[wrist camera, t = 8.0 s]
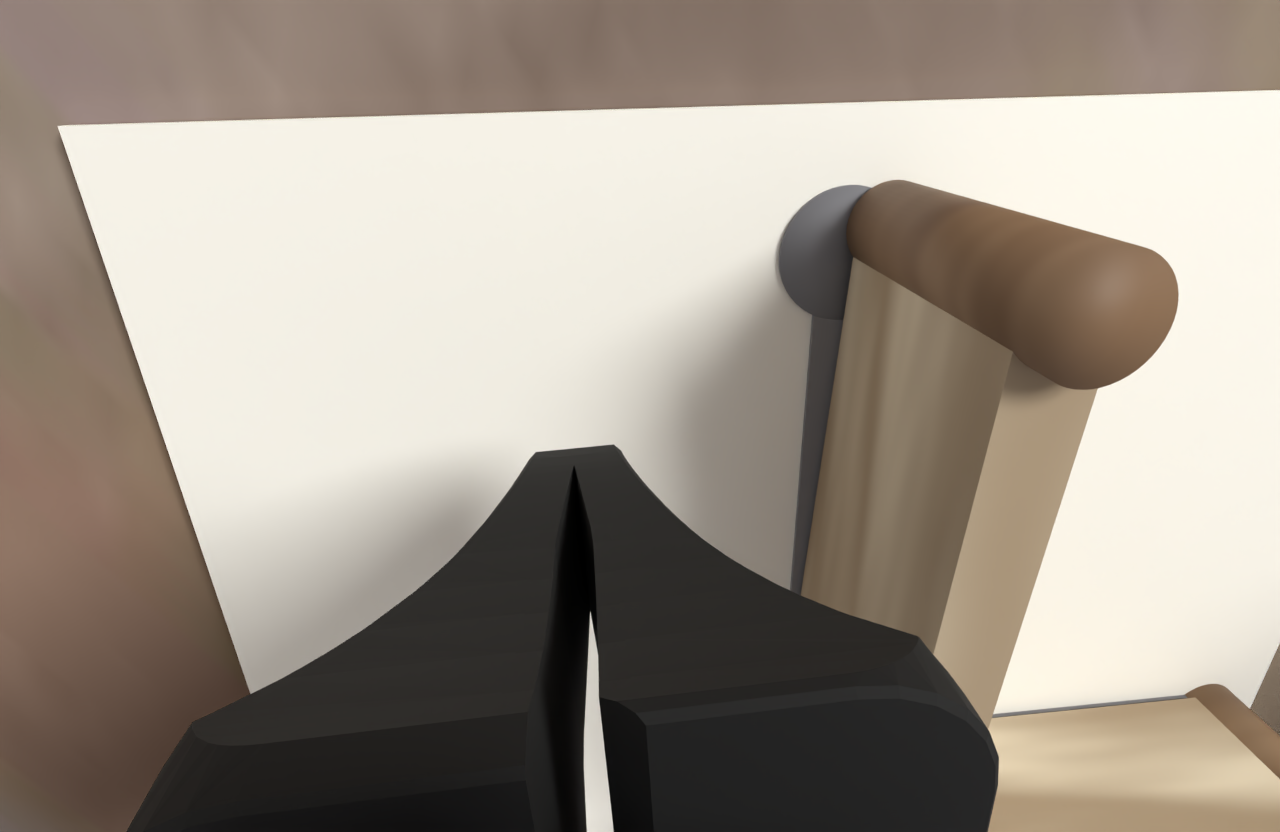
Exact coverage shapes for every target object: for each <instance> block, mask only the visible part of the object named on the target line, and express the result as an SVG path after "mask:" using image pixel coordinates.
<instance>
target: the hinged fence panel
mask: <svg viewBox="0 0 1280 832" xmlns="http://www.w3.org/2000/svg"><path fill="white" fill-rule="evenodd" d="M846 237H847V244H848V247H849V250H850V252H851V254H852V256H853V261H852V268H851V274H850V281H849V287H848V294H847V300H846V306H845V313H844V319H843V326H842V332H841V339H840V345H839V351H838V358H837V364H836V371H835V377H834V384H833V390H832V396H831V403H830V409H829V416H828V422H827V428H826V435H825V441H824V448H823V454H822V461H821V467H820V473H819V480H818V486H817V493H816V499H815V506H814V512H813V518H812V525H811V531H810V538H809V544H808V551H807V557H806V563H805V570H804V576H803V583H802V589H801V596H803V597H806V598H808V599H811V600H813V601H816V602H818V603H820V604H823V605H825V606H828V607H830V608H833V609H835V610H838V611H840V612H843V613H846V614H849V615H852V616H855V617H858V618H861V619H865V620H868V621H871V622H874V623H877V624H881V625H884V626H887V627H890V628H893V629H897V630H900V631H903V632H906V633H909V634H913V635H916V636H918V637H919V638H920V639H921V640H922V641H923V642H924V644H925V645H926V646H927V648H928V649H929V650H930V651H931V653H932V654H933V655H934V656H935V657H936V658H937V660H938V661H939V662H940V663H941V664H942V665H943V666H944V668H945V669H946V670H947V671H948V672H949V674H950V675H951V676H952V678H953V679H954V680H955V682H956V683H957V684H958V686H959V687H960V688H961V690H962V691H963V692H964V694H965V695H966V697H967V698H968V700H969V701H970V703H971V704H972V706H973V707H974V709H975V710H976V712H977V713H978V715H979V716H980V718H981V719H982V721H983V722H984V724H985V725H986V727H987V728H989V725H990V722H991V719H992V716H993V713H994V710H995V706H996V703H997V700H998V697H999V694H1000V691H1001V688H1002V685H1003V682H1004V678H1005V675H1006V672H1007V669H1008V666H1009V663H1010V660H1011V657H1012V654H1013V650H1014V647H1015V644H1016V641H1017V638H1018V635H1019V632H1020V629H1021V626H1022V623H1023V619H1024V616H1025V613H1026V610H1027V607H1028V604H1029V601H1030V598H1031V595H1032V591H1033V588H1034V585H1035V582H1036V579H1037V576H1038V573H1039V570H1040V567H1041V564H1042V560H1043V557H1044V554H1045V551H1046V548H1047V545H1048V542H1049V539H1050V536H1051V532H1052V529H1053V526H1054V523H1055V520H1056V517H1057V514H1058V511H1059V508H1060V505H1061V501H1062V498H1063V495H1064V492H1065V489H1066V486H1067V483H1068V480H1069V477H1070V473H1071V470H1072V467H1073V464H1074V461H1075V458H1076V455H1077V452H1078V449H1079V445H1080V442H1081V439H1082V436H1083V433H1084V430H1085V427H1086V424H1087V421H1088V418H1089V414H1090V411H1091V408H1092V405H1093V402H1094V399H1095V396H1096V393H1097V390H1098V388H1102V387H1105V386H1108V385H1111V384H1113V383H1116V382H1118V381H1120V380H1122V379H1124V378H1126V377H1127V376H1129V375H1130V374H1132V373H1133V372H1135V371H1136V370H1138V369H1139V368H1140V367H1141V366H1142V365H1144V364H1145V363H1146V362H1147V361H1148V360H1149V359H1150V358H1151V357H1152V356H1153V355H1154V353H1155V352H1156V351H1157V350H1158V349H1159V347H1160V346H1161V344H1162V343H1163V342H1164V340H1165V338H1166V337H1167V335H1168V333H1169V331H1170V329H1171V327H1172V324H1173V322H1174V319H1175V316H1176V312H1177V307H1178V296H1179V292H1178V283H1177V280H1176V276H1175V274H1174V272H1173V269H1172V268H1171V266H1170V265H1169V263H1168V262H1167V261H1166V260H1165V259H1164V258H1163V257H1162V256H1161V255H1159V254H1158V253H1156V252H1155V251H1153V250H1151V249H1148V248H1146V247H1142V246H1139V245H1135V244H1131V243H1128V242H1124V241H1121V240H1117V239H1114V238H1110V237H1106V236H1103V235H1099V234H1096V233H1092V232H1089V231H1085V230H1081V229H1078V228H1074V227H1071V226H1067V225H1064V224H1060V223H1056V222H1053V221H1049V220H1046V219H1042V218H1039V217H1035V216H1031V215H1028V214H1024V213H1021V212H1017V211H1014V210H1010V209H1006V208H1003V207H999V206H996V205H992V204H989V203H985V202H981V201H978V200H974V199H971V198H967V197H964V196H960V195H956V194H953V193H949V192H946V191H942V190H939V189H935V188H931V187H928V186H924V185H921V184H917V183H914V182H910V181H906V180H890V181H886V182H883V183H880V184H878V185H876V186H874V187H873V188H871V189H870V190H868V191H867V192H866V193H865V194H864V195H863V196H862V197H861V198H860V199H859V200H858V202H857V203H856V205H855V206H854V208H853V210H852V212H851V214H850V217H849V219H848V224H847V231H846Z"/></svg>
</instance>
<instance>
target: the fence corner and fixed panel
mask: <svg viewBox="0 0 1280 832" xmlns="http://www.w3.org/2000/svg"><path fill="white" fill-rule="evenodd" d="M1185 696H1186V697H1187V698H1185V699H1175V700H1165V701H1156V702H1146V703H1136V704H1126V705H1116V706H1106V707H1096V708H1086V709H1077V710H1067V711H1057V712H1047V713H1037V714H1027V715H1017V716H1007V717H998V718H992V719H991V722H990V725H989V728H988V730H989V732H990V734H991V737H992V740H993V742H994V745H995V748H996V750H997V753H998V756H999V774H998V788H997V792H996V797H995V801H994V806H993V810H992V815H991V819H990V824H989V828H988V832H1280V736H1279V735H1278V734H1277V733H1276V732H1275V731H1274V730H1273V729H1272V728H1270V727H1269V726H1268V725H1267V724H1266V723H1265V722H1264V721H1263V720H1262V719H1261V718H1259V717H1258V716H1257V715H1256V714H1255V713H1254V712H1253V711H1252V710H1251V709H1250V708H1248V707H1247V706H1246V705H1245V704H1244V703H1243V702H1242V701H1241V700H1240V699H1239V698H1237V697H1236V696H1235V695H1234V694H1233V693H1232V692H1231V691H1230V690H1229V689H1227V688H1226V687H1225V686H1223V685H1220V684H1207V685H1203V686H1200V687H1197V688H1195V689H1193V690H1191V691H1189V692H1188V693H1186V694H1185Z"/></svg>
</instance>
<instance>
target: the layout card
mask: <svg viewBox="0 0 1280 832" xmlns="http://www.w3.org/2000/svg"><path fill="white" fill-rule="evenodd" d="M58 129H59V132H60V134H61V137H62V140H63V143H64V146H65V149H66V152H67V155H68V158H69V161H70V164H71V167H72V170H73V173H74V176H75V179H76V182H77V185H78V187H79V190H80V193H81V196H82V199H83V202H84V205H85V208H86V211H87V214H88V217H89V220H90V223H91V226H92V229H93V232H94V235H95V238H96V241H97V243H98V246H99V249H100V252H101V255H102V258H103V261H104V264H105V267H106V270H107V273H108V276H109V279H110V282H111V285H112V288H113V291H114V294H115V296H116V299H117V302H118V305H119V308H120V311H121V314H122V317H123V320H124V323H125V326H126V329H127V332H128V335H129V338H130V341H131V344H132V347H133V350H134V352H135V355H136V358H137V361H138V364H139V367H140V370H141V373H142V376H143V379H144V382H145V385H146V388H147V391H148V394H149V397H150V400H151V403H152V405H153V408H154V411H155V414H156V417H157V420H158V423H159V426H160V429H161V432H162V435H163V438H164V441H165V444H166V447H167V450H168V453H169V456H170V459H171V461H172V464H173V467H174V470H175V473H176V476H177V479H178V482H179V485H180V488H181V491H182V494H183V497H184V500H185V503H186V506H187V509H188V512H189V514H190V517H191V520H192V523H193V526H194V529H195V532H196V535H197V538H198V541H199V544H200V547H201V550H202V553H203V556H204V559H205V562H206V565H207V567H208V570H209V573H210V576H211V579H212V582H213V585H214V588H215V591H216V594H217V597H218V600H219V603H220V606H221V609H222V612H223V615H224V618H225V621H226V623H227V626H228V629H229V632H230V635H231V638H232V641H233V644H234V647H235V650H236V653H237V656H238V659H239V662H240V665H241V668H242V671H243V674H244V676H245V679H246V682H247V685H248V688H249V691H250V694H252V693H254V692H256V691H258V690H260V689H262V688H264V687H266V686H268V685H270V684H272V683H274V682H276V681H278V680H280V679H282V678H283V677H285V676H287V675H289V674H291V673H292V672H294V671H296V670H298V669H300V668H301V667H303V666H305V665H307V664H308V663H310V662H312V661H313V660H315V659H317V658H318V657H320V656H322V655H324V654H325V653H327V652H329V651H330V650H332V649H334V648H335V647H337V646H338V645H340V644H341V643H343V642H345V641H346V640H348V639H349V638H351V637H352V636H354V635H356V634H357V633H359V632H360V631H362V630H363V629H365V628H366V627H368V626H369V625H370V624H372V623H373V622H374V621H376V620H377V619H378V618H380V617H381V616H382V615H384V614H385V613H386V612H388V611H389V610H390V609H392V608H393V607H394V606H396V605H397V604H399V603H400V602H401V601H403V600H404V599H405V598H407V597H408V596H409V595H411V594H412V593H413V592H415V591H416V590H417V589H418V588H419V587H421V586H422V585H423V584H424V583H425V582H426V581H428V580H429V579H430V578H431V577H432V576H433V575H434V574H435V573H437V572H438V571H439V570H440V569H441V568H442V567H443V566H444V565H445V564H447V563H448V562H449V561H450V560H451V559H452V558H453V557H454V556H455V555H456V554H457V553H458V552H459V550H460V549H461V548H462V547H463V546H464V545H465V544H466V543H467V541H468V540H469V539H470V538H471V537H472V536H473V535H474V533H475V532H476V531H477V530H478V529H479V528H480V527H481V526H482V524H483V523H484V522H485V521H486V520H487V518H488V517H489V516H490V514H491V513H492V512H493V511H494V509H495V508H496V507H497V505H498V504H499V503H500V501H501V500H502V499H503V497H504V496H505V495H506V493H507V492H508V491H509V489H510V488H511V486H512V485H513V483H514V482H515V480H516V479H517V478H518V476H519V475H520V473H521V471H522V470H523V468H524V467H525V465H526V464H527V462H528V460H529V459H530V458H531V457H532V456H533V455H534V453H535V452H541V451H551V450H562V449H572V448H582V447H593V446H603V445H613V444H614V445H615V446H616V447H618V448H619V449H620V450H621V451H622V453H623V455H624V456H625V458H626V460H627V461H628V463H629V464H630V465H631V467H632V468H633V469H634V471H635V472H636V473H637V474H638V476H639V477H640V478H641V479H642V481H643V482H644V483H645V484H646V485H647V486H648V488H649V489H650V490H651V491H652V492H653V493H654V494H655V495H656V496H657V497H658V498H659V499H660V500H661V501H662V502H663V504H664V505H665V506H666V507H667V508H668V509H669V510H671V511H672V512H673V513H674V514H675V515H676V516H677V517H678V518H679V519H680V520H681V521H682V522H683V523H685V524H686V525H687V526H688V527H689V528H690V529H691V530H692V531H694V532H695V533H696V534H697V535H699V536H700V537H701V538H702V539H703V540H705V541H706V542H708V543H709V544H710V545H712V546H713V547H715V548H716V549H718V550H719V551H721V552H722V553H723V554H725V555H726V556H728V557H729V558H731V559H733V560H734V561H736V562H738V563H739V564H741V565H742V566H744V567H746V568H748V569H750V570H751V571H753V572H755V573H757V574H759V575H761V576H762V577H764V578H766V579H768V580H770V581H772V582H774V583H775V584H777V585H780V586H782V587H784V588H786V589H788V590H790V591H792V592H794V593H797V594H799V595H801V589H802V583H803V576H804V570H805V563H806V557H807V551H808V544H809V538H810V531H811V525H812V518H813V512H814V506H815V499H816V493H817V486H818V480H819V473H820V467H821V461H822V454H823V448H824V441H825V435H826V428H827V422H828V416H829V409H830V403H831V396H832V390H833V384H834V377H835V371H836V364H837V358H838V351H839V345H840V339H841V332H842V326H843V319H844V313H845V306H846V300H847V294H848V287H849V281H850V274H851V268H852V261H853V256H852V254H851V252H850V250H849V247H848V244H847V237H846V231H847V224H848V219H849V217H850V214H851V212H852V210H853V208H854V206H855V205H856V203H857V202H858V200H859V199H860V198H861V197H862V196H863V195H864V194H865V193H866V192H867V191H868V190H870V189H871V188H873V187H874V186H876V185H878V184H880V183H883V182H886V181H890V180H906V181H910V182H914V183H917V184H921V185H924V186H928V187H931V188H935V189H939V190H942V191H946V192H949V193H953V194H956V195H960V196H964V197H967V198H971V199H974V200H978V201H981V202H985V203H989V204H992V205H996V206H999V207H1003V208H1006V209H1010V210H1014V211H1017V212H1021V213H1024V214H1028V215H1031V216H1035V217H1039V218H1042V219H1046V220H1049V221H1053V222H1056V223H1060V224H1064V225H1067V226H1071V227H1074V228H1078V229H1081V230H1085V231H1089V232H1092V233H1096V234H1099V235H1103V236H1106V237H1110V238H1114V239H1117V240H1121V241H1124V242H1128V243H1131V244H1135V245H1139V246H1142V247H1146V248H1148V249H1151V250H1153V251H1155V252H1156V253H1158V254H1159V255H1161V256H1162V257H1163V258H1164V259H1165V260H1166V261H1167V262H1168V263H1169V265H1170V266H1171V268H1172V269H1173V272H1174V274H1175V276H1176V280H1177V283H1178V292H1179V296H1178V307H1177V312H1176V316H1175V319H1174V322H1173V324H1172V327H1171V329H1170V331H1169V333H1168V335H1167V337H1166V338H1165V340H1164V342H1163V343H1162V344H1161V346H1160V347H1159V349H1158V350H1157V351H1156V352H1155V353H1154V355H1153V356H1152V357H1151V358H1150V359H1149V360H1148V361H1147V362H1146V363H1145V364H1144V365H1142V366H1141V367H1140V368H1139V369H1138V370H1136V371H1135V372H1133V373H1132V374H1130V375H1129V376H1127V377H1126V378H1124V379H1122V380H1120V381H1118V382H1116V383H1113V384H1111V385H1108V386H1105V387H1102V388H1098V390H1097V393H1096V396H1095V399H1094V402H1093V405H1092V408H1091V411H1090V414H1089V418H1088V421H1087V424H1086V427H1085V430H1084V433H1083V436H1082V439H1081V442H1080V445H1079V449H1078V452H1077V455H1076V458H1075V461H1074V464H1073V467H1072V470H1071V473H1070V477H1069V480H1068V483H1067V486H1066V489H1065V492H1064V495H1063V498H1062V501H1061V505H1060V508H1059V511H1058V514H1057V517H1056V520H1055V523H1054V526H1053V529H1052V532H1051V536H1050V539H1049V542H1048V545H1047V548H1046V551H1045V554H1044V557H1043V560H1042V564H1041V567H1040V570H1039V573H1038V576H1037V579H1036V582H1035V585H1034V588H1033V591H1032V595H1031V598H1030V601H1029V604H1028V607H1027V610H1026V613H1025V616H1024V619H1023V623H1022V626H1021V629H1020V632H1019V635H1018V638H1017V641H1016V644H1015V647H1014V650H1013V654H1012V657H1011V660H1010V663H1009V666H1008V669H1007V672H1006V675H1005V678H1004V682H1003V685H1002V688H1001V691H1000V694H999V697H998V700H997V703H996V706H995V710H994V713H993V716H992V718H998V717H1007V716H1017V715H1027V714H1037V713H1047V712H1057V711H1067V710H1077V709H1086V708H1096V707H1106V706H1116V705H1126V704H1136V703H1146V702H1156V701H1165V700H1175V699H1185V698H1187V697H1186V696H1185V694H1186V693H1188V692H1189V691H1191V690H1193V689H1195V688H1197V687H1200V686H1203V685H1207V684H1220V685H1223V686H1225V687H1226V688H1227V689H1229V690H1230V691H1231V692H1232V693H1233V694H1234V695H1235V696H1236V697H1237V698H1239V699H1240V700H1241V701H1242V702H1243V703H1244V704H1245V705H1246V706H1247V707H1248V708H1250V707H1251V705H1252V703H1253V701H1254V699H1255V696H1256V694H1257V692H1258V690H1259V688H1260V685H1261V683H1262V681H1263V679H1264V677H1265V674H1266V672H1267V670H1268V668H1269V666H1270V663H1271V661H1272V659H1273V657H1274V655H1275V652H1276V650H1277V648H1278V646H1279V644H1280V90H1261V91H1226V92H1192V93H1157V94H1123V95H1088V96H1054V97H1019V98H985V99H950V100H916V101H881V102H847V103H812V104H778V105H743V106H709V107H675V108H640V109H606V110H571V111H537V112H502V113H468V114H433V115H399V116H364V117H330V118H295V119H261V120H226V121H192V122H158V123H123V124H89V125H64V126H58ZM584 782H585V804H586V825H587V832H614V829H613V820H612V811H611V802H610V793H609V784H608V775H607V766H606V757H605V748H604V739H603V730H602V721H601V712H600V703H599V672H598V652H597V646H596V641H595V635H594V629H593V624H592V618H591V612H590V627H589V647H588V667H587V687H586V706H585V726H584Z"/></svg>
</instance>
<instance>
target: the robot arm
mask: <svg viewBox="0 0 1280 832" xmlns="http://www.w3.org/2000/svg"><path fill="white" fill-rule="evenodd" d="M590 612H591V618H592V624H593V629H594V635H595V641H596V646H597V652H598V672H599V703H600V712H601V721H602V730H603V739H604V748H605V757H606V766H607V775H608V784H609V793H610V802H611V811H612V820H613V829H614V832H988V828H989V824H990V819H991V815H992V810H993V806H994V801H995V797H996V792H997V788H998V774H999V756H998V753H997V750H996V748H995V745H994V742H993V740H992V737H991V734H990V732H989V730H988V728H987V727H986V725H985V724H984V722H983V721H982V719H981V718H980V716H979V715H978V713H977V712H976V710H975V709H974V707H973V706H972V704H971V703H970V701H969V700H968V698H967V697H966V695H965V694H964V692H963V691H962V690H961V688H960V687H959V686H958V684H957V683H956V682H955V680H954V679H953V678H952V676H951V675H950V674H949V672H948V671H947V670H946V669H945V668H944V666H943V665H942V664H941V663H940V662H939V661H938V660H937V658H936V657H935V656H934V655H933V654H932V653H931V651H930V650H929V649H928V648H927V646H926V645H925V644H924V642H923V641H922V640H921V639H920V638H919V637H918V636H916V635H913V634H909V633H906V632H903V631H900V630H897V629H893V628H890V627H887V626H884V625H881V624H877V623H874V622H871V621H868V620H865V619H861V618H858V617H855V616H852V615H849V614H846V613H843V612H840V611H838V610H835V609H833V608H830V607H828V606H825V605H823V604H820V603H818V602H816V601H813V600H811V599H808V598H806V597H803V596H801V595H799V594H797V593H794V592H792V591H790V590H788V589H786V588H784V587H782V586H780V585H777V584H775V583H774V582H772V581H770V580H768V579H766V578H764V577H762V576H761V575H759V574H757V573H755V572H753V571H751V570H750V569H748V568H746V567H744V566H742V565H741V564H739V563H738V562H736V561H734V560H733V559H731V558H729V557H728V556H726V555H725V554H723V553H722V552H721V551H719V550H718V549H716V548H715V547H713V546H712V545H710V544H709V543H708V542H706V541H705V540H703V539H702V538H701V537H700V536H699V535H697V534H696V533H695V532H694V531H692V530H691V529H690V528H689V527H688V526H687V525H686V524H685V523H683V522H682V521H681V520H680V519H679V518H678V517H677V516H676V515H675V514H674V513H673V512H672V511H671V510H669V509H668V508H667V507H666V506H665V505H664V504H663V502H662V501H661V500H660V499H659V498H658V497H657V496H656V495H655V494H654V493H653V492H652V491H651V490H650V489H649V488H648V486H647V485H646V484H645V483H644V482H643V481H642V479H641V478H640V477H639V476H638V474H637V473H636V472H635V471H634V469H633V468H632V467H631V465H630V464H629V463H628V461H627V460H626V458H625V456H624V455H623V453H622V451H621V450H620V449H619V448H618V447H616V446H615V445H614V444H613V445H603V446H593V447H582V448H572V449H562V450H551V451H541V452H535V453H534V455H533V456H532V457H531V458H530V459H529V460H528V462H527V464H526V465H525V467H524V468H523V470H522V471H521V473H520V475H519V476H518V478H517V479H516V480H515V482H514V483H513V485H512V486H511V488H510V489H509V491H508V492H507V493H506V495H505V496H504V497H503V499H502V500H501V501H500V503H499V504H498V505H497V507H496V508H495V509H494V511H493V512H492V513H491V514H490V516H489V517H488V518H487V520H486V521H485V522H484V523H483V524H482V526H481V527H480V528H479V529H478V530H477V531H476V532H475V533H474V535H473V536H472V537H471V538H470V539H469V540H468V541H467V543H466V544H465V545H464V546H463V547H462V548H461V549H460V550H459V552H458V553H457V554H456V555H455V556H454V557H453V558H452V559H451V560H450V561H449V562H448V563H447V564H445V565H444V566H443V567H442V568H441V569H440V570H439V571H438V572H437V573H435V574H434V575H433V576H432V577H431V578H430V579H429V580H428V581H426V582H425V583H424V584H423V585H422V586H421V587H419V588H418V589H417V590H416V591H415V592H413V593H412V594H411V595H409V596H408V597H407V598H405V599H404V600H403V601H401V602H400V603H399V604H397V605H396V606H394V607H393V608H392V609H390V610H389V611H388V612H386V613H385V614H384V615H382V616H381V617H380V618H378V619H377V620H376V621H374V622H373V623H372V624H370V625H369V626H368V627H366V628H365V629H363V630H362V631H360V632H359V633H357V634H356V635H354V636H352V637H351V638H349V639H348V640H346V641H345V642H343V643H341V644H340V645H338V646H337V647H335V648H334V649H332V650H330V651H329V652H327V653H325V654H324V655H322V656H320V657H318V658H317V659H315V660H313V661H312V662H310V663H308V664H307V665H305V666H303V667H301V668H300V669H298V670H296V671H294V672H292V673H291V674H289V675H287V676H285V677H283V678H282V679H280V680H278V681H276V682H274V683H272V684H270V685H268V686H266V687H264V688H262V689H260V690H258V691H256V692H254V693H252V694H250V695H248V696H246V697H244V698H242V699H240V700H238V701H236V702H234V703H232V704H230V705H228V706H226V707H224V708H222V709H220V710H218V711H216V712H214V713H212V714H209V715H207V716H205V717H203V718H201V719H199V720H196V721H194V722H192V724H191V725H190V727H189V728H188V730H187V731H186V733H185V734H184V736H183V737H182V739H181V740H180V742H179V743H178V745H177V746H176V748H175V750H174V751H173V753H172V754H171V756H170V757H169V759H168V760H167V762H166V763H165V765H164V766H163V768H162V770H161V771H160V773H159V775H158V777H157V779H156V780H155V782H154V784H153V786H152V787H151V789H150V791H149V793H148V794H147V796H146V798H145V800H144V802H143V803H142V805H141V807H140V809H139V810H138V812H137V814H136V816H135V817H134V819H133V821H132V823H131V825H130V826H129V828H128V830H127V832H587V825H586V804H585V782H584V726H585V706H586V687H587V667H588V647H589V627H590Z"/></svg>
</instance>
